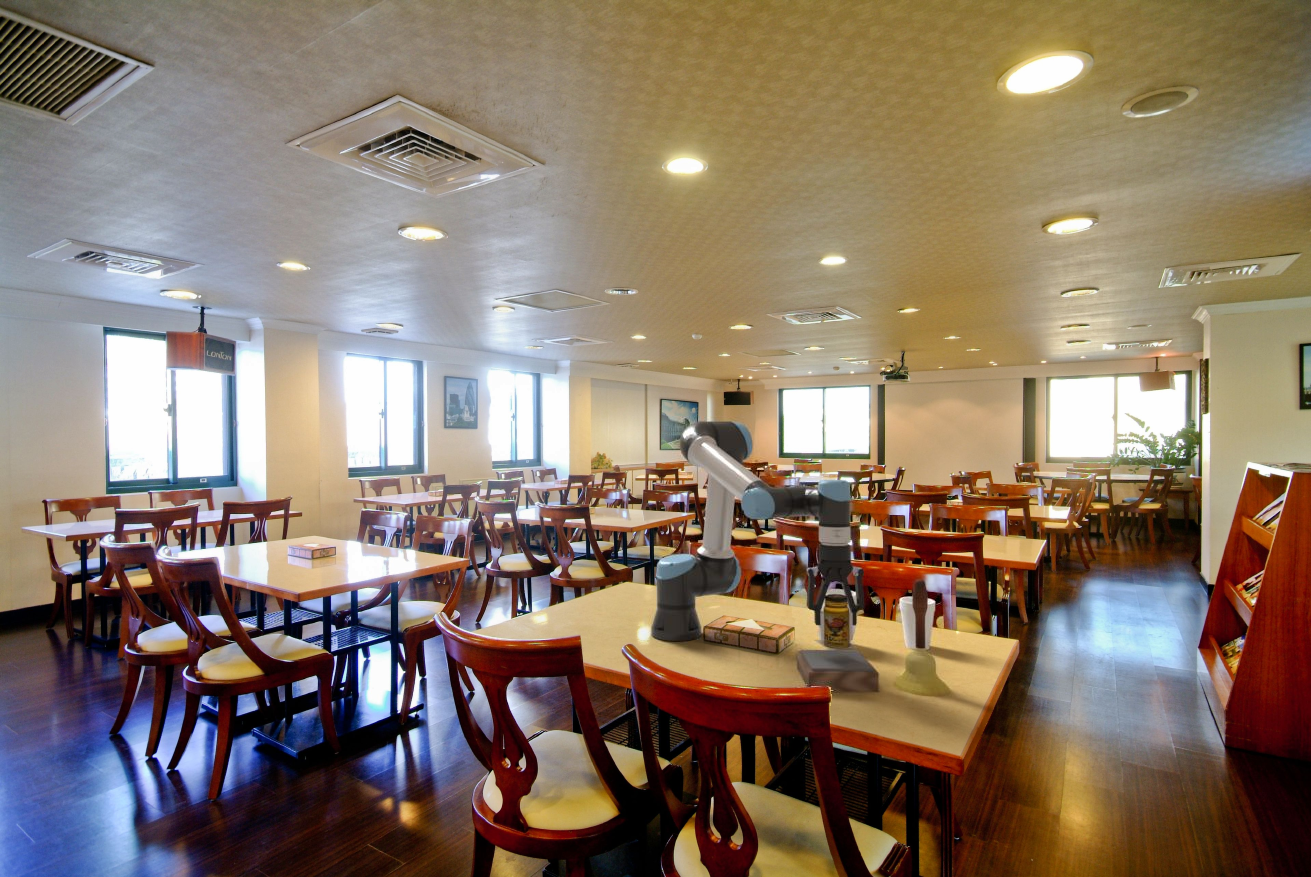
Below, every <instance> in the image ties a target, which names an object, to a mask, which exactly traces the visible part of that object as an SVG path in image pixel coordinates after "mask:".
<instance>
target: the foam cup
mask: <svg viewBox="0 0 1311 877" xmlns="http://www.w3.org/2000/svg"><path fill="white" fill-rule="evenodd" d="M899 609H900V616H901V622H902V624H901V625H902V629H903V630H902V631H903V637H904V643H905V647H906V648H907V649H911V650H915V647H916V637H915V613H914V610H913V605H912V596H903V597H900V598H899ZM935 612H936V601H935V600H934V599H932V598H928V608H927V612H926V615H925V648H926V651H928V650H929V649H930V646H931V638H932V630H933V624H934V616H935Z"/></svg>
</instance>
